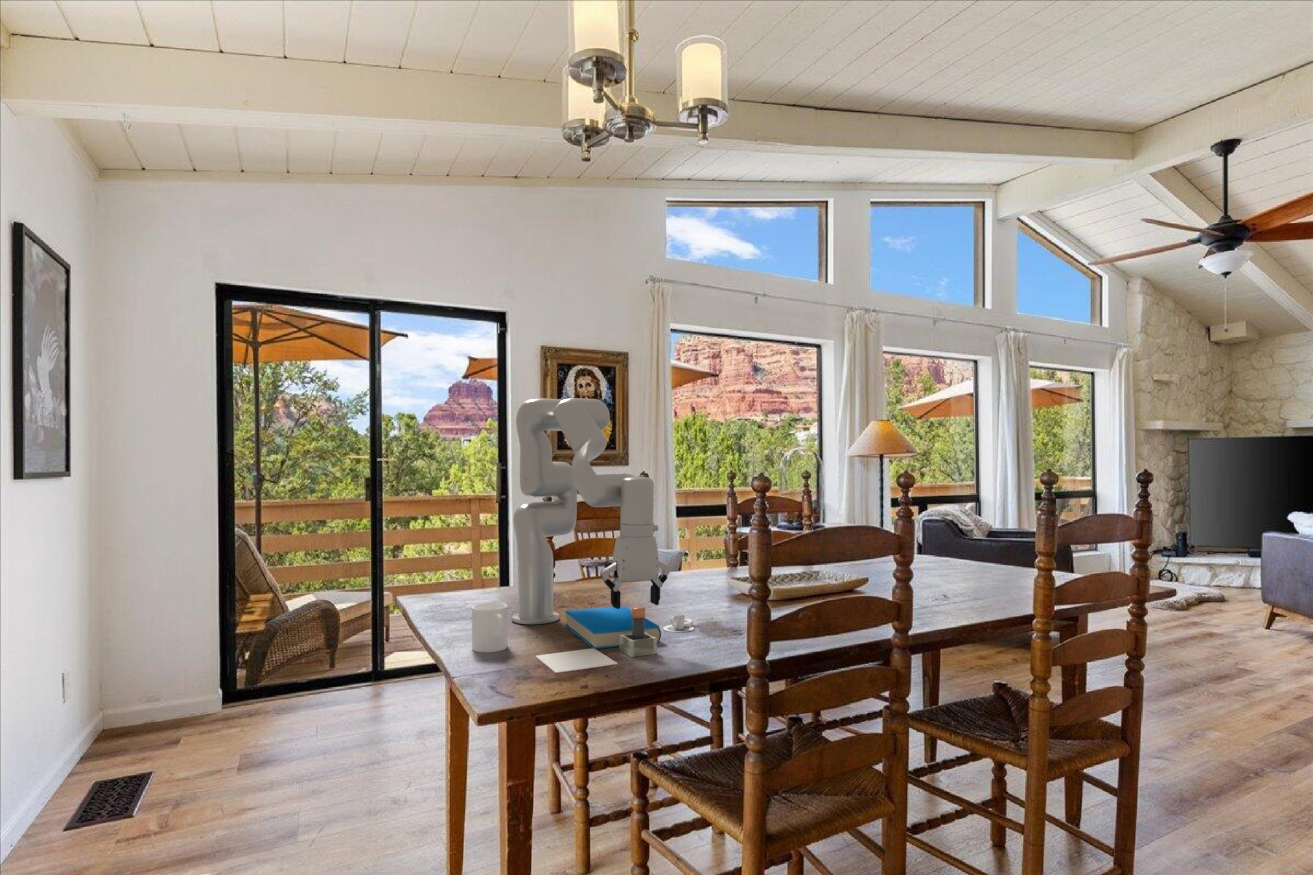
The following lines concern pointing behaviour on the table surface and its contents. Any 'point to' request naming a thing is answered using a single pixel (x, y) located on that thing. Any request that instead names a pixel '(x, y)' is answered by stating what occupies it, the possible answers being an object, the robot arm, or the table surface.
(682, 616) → the teacup and saucer
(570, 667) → the paper
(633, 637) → the marker
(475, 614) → the mug
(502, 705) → the table surface
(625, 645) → the pen holder
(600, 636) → the book
